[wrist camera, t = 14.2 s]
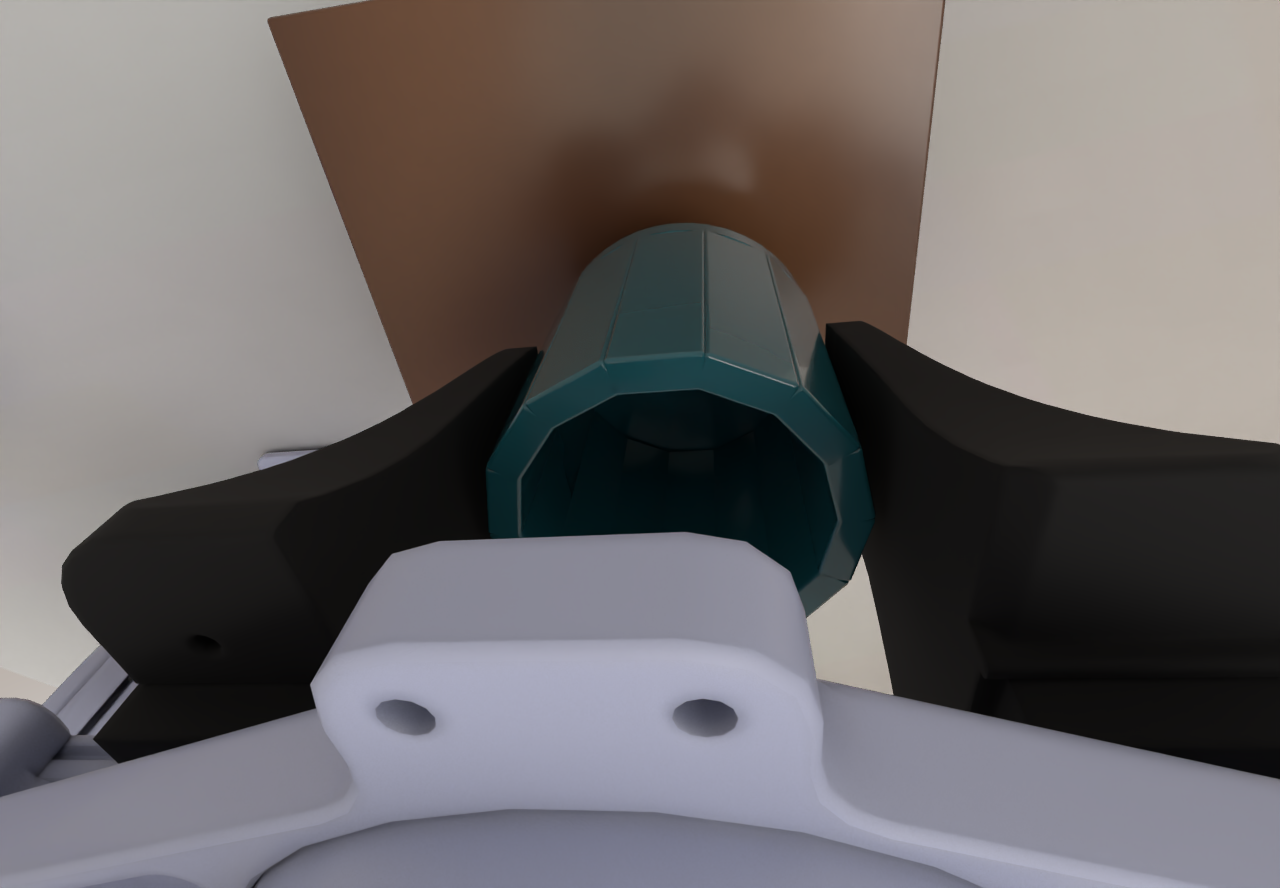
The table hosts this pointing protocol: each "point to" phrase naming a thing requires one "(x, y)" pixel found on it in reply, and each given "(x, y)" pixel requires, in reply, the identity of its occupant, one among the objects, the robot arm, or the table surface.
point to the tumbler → (688, 412)
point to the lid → (612, 150)
